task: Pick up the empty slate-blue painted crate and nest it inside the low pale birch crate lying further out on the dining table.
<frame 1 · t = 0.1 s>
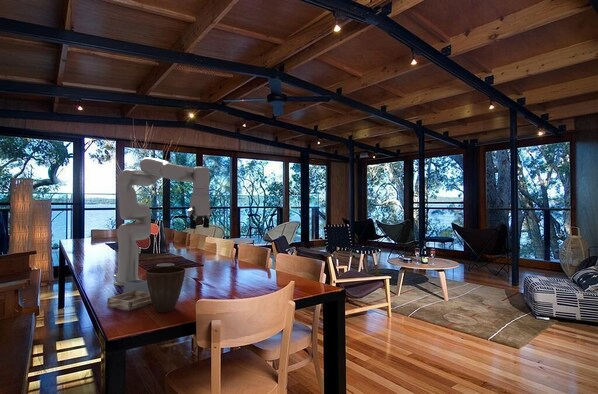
hand: (199, 228, 161), 31 cm above the table, fingers open, 9 cm apart
plant pot: (164, 310, 135), on the table
coffee mug: (162, 283, 178), on the table
birch crate: (132, 304, 141), on the table
slate crate: (135, 294, 156), on the table
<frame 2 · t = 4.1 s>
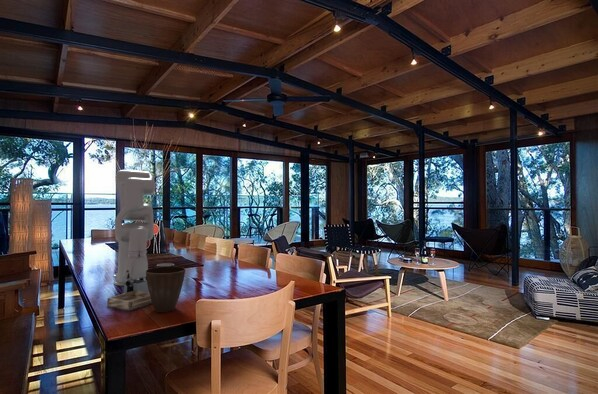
hand: (135, 292, 156), 1 cm above the table, fingers closed on slate crate, 6 cm apart
slate crate: (135, 294, 156), on the table, touching gripper
everything else where it was.
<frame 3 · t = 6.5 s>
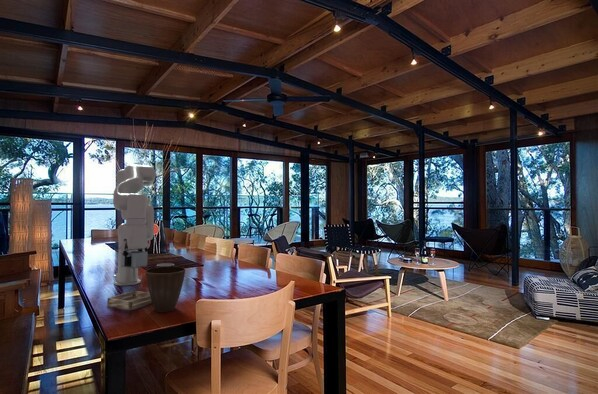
hand: (134, 264, 142), 16 cm above the table, fingers closed on slate crate, 6 cm apart
slate crate: (134, 266, 142), point 16 cm above the table, touching gripper
everything else where it was.
when the fingers open (3 cm above the table, at t = 8.8 s): slate crate drops 2 cm, resting on birch crate.
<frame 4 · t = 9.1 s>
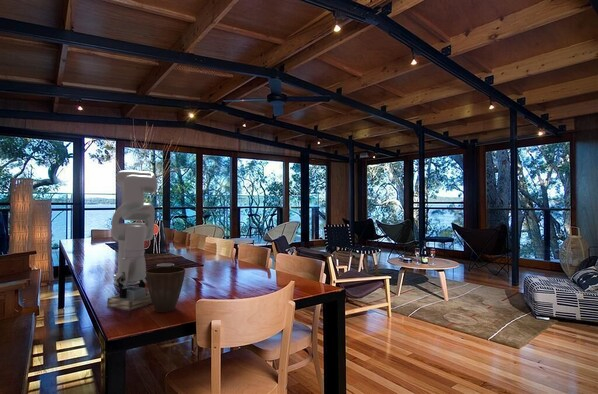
hand: (132, 295, 141), 4 cm above the table, fingers open, 9 cm apart
slate crate: (132, 302, 141), point 1 cm above the table, touching birch crate
everything else where it was.
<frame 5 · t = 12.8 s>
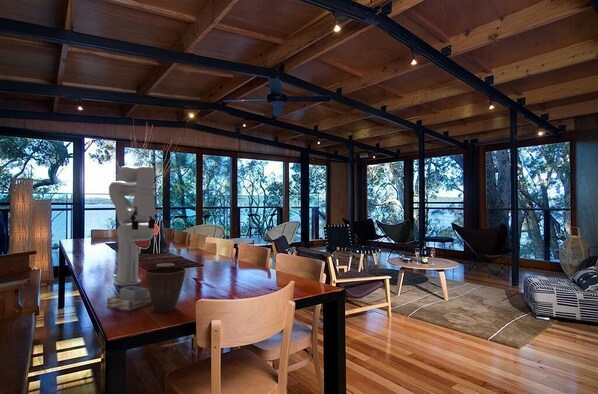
hand: (143, 229, 158), 30 cm above the table, fingers open, 9 cm apart
nothing on the table moved.
at the end: slate crate 0.1 cm off-centre on the birch crate, point 0.6 cm above the birch crate's base; slate crate tilted 0°; the gripper is holding nothing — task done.
